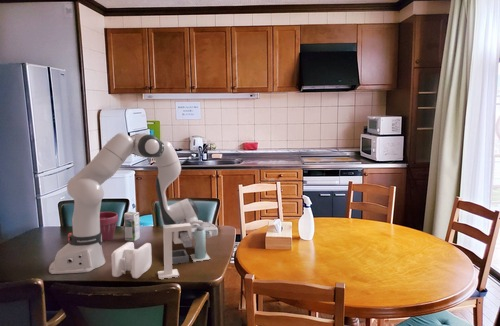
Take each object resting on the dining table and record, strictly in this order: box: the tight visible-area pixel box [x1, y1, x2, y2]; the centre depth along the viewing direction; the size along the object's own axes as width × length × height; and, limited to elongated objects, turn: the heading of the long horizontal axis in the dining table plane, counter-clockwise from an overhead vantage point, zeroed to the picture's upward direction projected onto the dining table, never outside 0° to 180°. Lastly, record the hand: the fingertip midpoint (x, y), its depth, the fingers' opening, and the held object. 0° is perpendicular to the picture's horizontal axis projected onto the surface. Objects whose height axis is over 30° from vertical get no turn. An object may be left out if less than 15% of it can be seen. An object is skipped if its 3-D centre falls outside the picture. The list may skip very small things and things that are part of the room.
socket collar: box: [172, 248, 190, 265], centre depth 171 cm, size 9×9×3 cm
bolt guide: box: [157, 223, 193, 280], centre depth 155 cm, size 14×6×21 cm, turn 110°
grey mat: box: [189, 252, 211, 263], centre depth 174 cm, size 8×8×1 cm
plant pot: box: [100, 211, 119, 242], centre depth 199 cm, size 14×14×13 cm
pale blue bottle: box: [194, 227, 207, 259], centre depth 173 cm, size 5×5×14 cm
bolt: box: [178, 222, 193, 248], centre depth 152 cm, size 4×21×4 cm, turn 20°
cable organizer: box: [110, 241, 153, 279], centre depth 156 cm, size 15×11×12 cm
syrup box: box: [123, 211, 141, 242], centre depth 198 cm, size 6×6×14 cm
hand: (199, 237), depth 173 cm, fingers open, 8 cm apart
